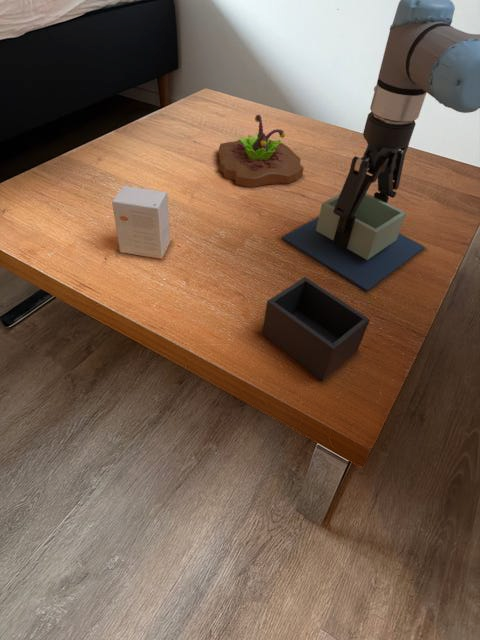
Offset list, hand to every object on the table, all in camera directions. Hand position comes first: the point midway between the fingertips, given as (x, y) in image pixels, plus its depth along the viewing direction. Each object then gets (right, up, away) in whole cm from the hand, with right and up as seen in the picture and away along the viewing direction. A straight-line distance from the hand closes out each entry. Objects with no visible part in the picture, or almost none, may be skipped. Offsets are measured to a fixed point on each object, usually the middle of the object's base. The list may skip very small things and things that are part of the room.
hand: (356, 234), depth 87 cm
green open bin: (0, 0, 0) cm, 0 cm away
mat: (0, -2, +2) cm, 2 cm away
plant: (-18, +21, +22) cm, 35 cm away
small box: (-40, -3, -4) cm, 40 cm away
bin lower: (-12, -20, -18) cm, 29 cm away
